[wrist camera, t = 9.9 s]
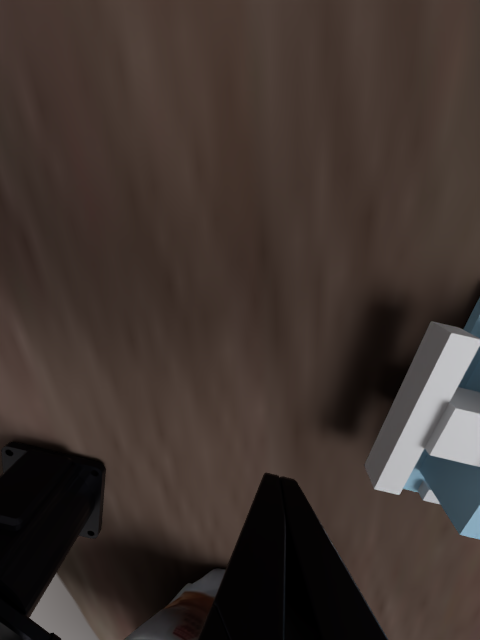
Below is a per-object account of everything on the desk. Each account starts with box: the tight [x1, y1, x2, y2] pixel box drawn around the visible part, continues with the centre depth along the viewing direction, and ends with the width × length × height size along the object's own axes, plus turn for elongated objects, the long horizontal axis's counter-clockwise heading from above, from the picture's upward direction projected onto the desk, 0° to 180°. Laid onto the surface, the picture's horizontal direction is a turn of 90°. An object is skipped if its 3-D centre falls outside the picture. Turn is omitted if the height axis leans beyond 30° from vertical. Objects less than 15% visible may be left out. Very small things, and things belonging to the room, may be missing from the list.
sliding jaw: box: [364, 321, 480, 539], centre depth 13 cm, size 9×6×4 cm
